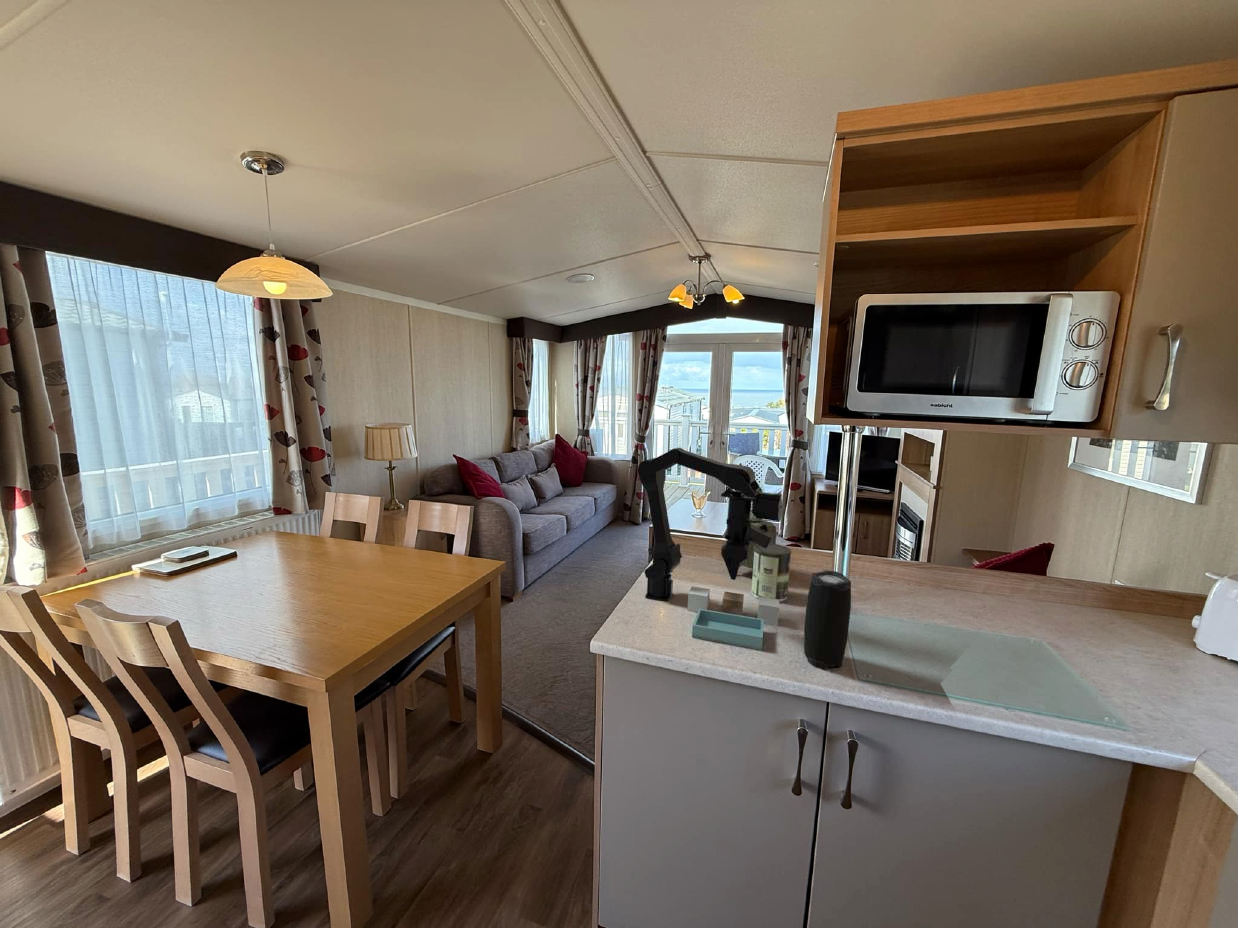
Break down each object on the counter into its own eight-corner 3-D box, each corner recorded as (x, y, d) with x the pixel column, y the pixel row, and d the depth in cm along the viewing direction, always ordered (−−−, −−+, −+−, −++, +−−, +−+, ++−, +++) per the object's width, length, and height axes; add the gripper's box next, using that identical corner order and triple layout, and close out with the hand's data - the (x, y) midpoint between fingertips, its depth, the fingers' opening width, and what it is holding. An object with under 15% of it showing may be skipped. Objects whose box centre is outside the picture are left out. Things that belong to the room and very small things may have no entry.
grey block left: (687, 610, 129) (688, 593, 128) (690, 603, 134) (691, 586, 133) (706, 614, 128) (707, 596, 127) (708, 606, 132) (709, 589, 132)
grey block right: (757, 622, 124) (758, 604, 123) (758, 614, 128) (759, 596, 128) (777, 626, 122) (779, 607, 121) (777, 617, 127) (779, 599, 126)
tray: (691, 636, 115) (692, 625, 115) (698, 619, 124) (698, 608, 124) (761, 649, 110) (762, 637, 110) (762, 630, 119) (763, 619, 119)
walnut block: (721, 616, 126) (722, 598, 126) (723, 608, 131) (724, 591, 130) (741, 619, 125) (742, 601, 124) (742, 611, 130) (743, 594, 129)
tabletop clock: (751, 565, 165) (757, 493, 162) (775, 573, 158) (781, 498, 155) (725, 574, 156) (730, 499, 152) (749, 583, 149) (754, 504, 146)
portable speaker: (797, 663, 105) (805, 577, 102) (807, 645, 113) (815, 565, 110) (840, 677, 100) (849, 587, 98) (847, 657, 108) (856, 574, 105)
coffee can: (781, 588, 146) (784, 543, 144) (792, 602, 136) (796, 554, 134) (746, 586, 146) (750, 542, 144) (755, 601, 136) (759, 553, 134)
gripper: (771, 528, 113) (766, 591, 115) (772, 510, 130) (767, 565, 133) (722, 522, 116) (718, 584, 119) (730, 506, 134) (726, 560, 136)
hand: (734, 573), depth 126 cm, fingers open, 9 cm apart
